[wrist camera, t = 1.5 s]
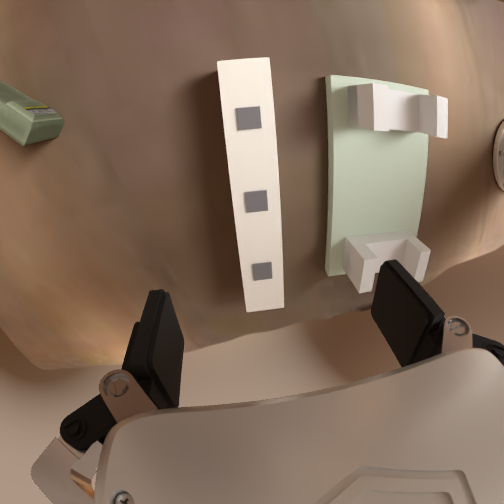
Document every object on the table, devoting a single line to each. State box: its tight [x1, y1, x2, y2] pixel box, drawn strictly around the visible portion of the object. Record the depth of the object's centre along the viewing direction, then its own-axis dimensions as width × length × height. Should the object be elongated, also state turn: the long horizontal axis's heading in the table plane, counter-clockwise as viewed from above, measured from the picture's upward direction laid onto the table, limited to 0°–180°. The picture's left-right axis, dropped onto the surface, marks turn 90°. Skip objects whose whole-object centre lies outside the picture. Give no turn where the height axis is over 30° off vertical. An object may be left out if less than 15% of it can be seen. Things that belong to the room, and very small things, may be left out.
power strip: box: [217, 58, 284, 312], centre depth 25 cm, size 4×24×5 cm, turn 5°
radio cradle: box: [325, 75, 448, 293], centre depth 25 cm, size 12×22×6 cm, turn 5°
